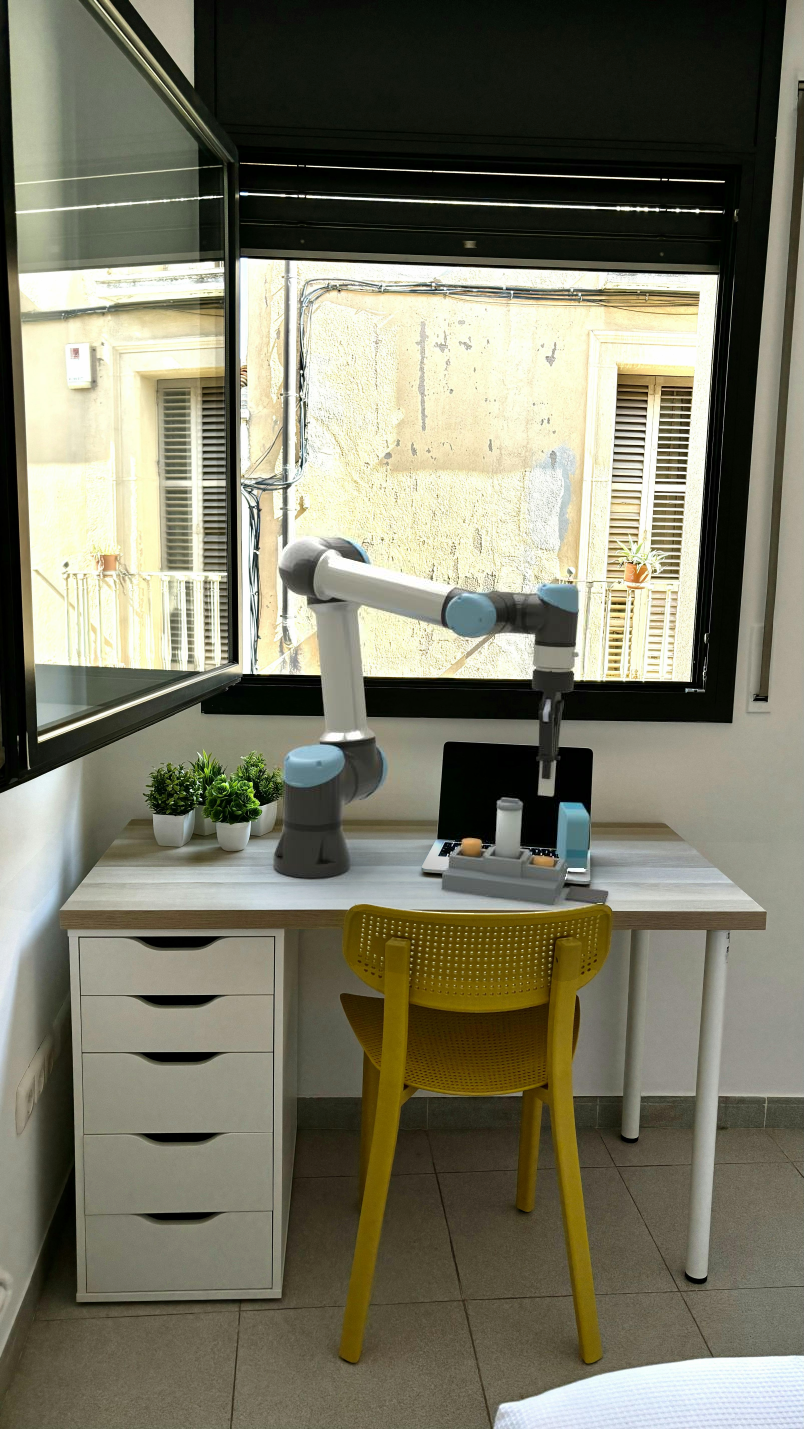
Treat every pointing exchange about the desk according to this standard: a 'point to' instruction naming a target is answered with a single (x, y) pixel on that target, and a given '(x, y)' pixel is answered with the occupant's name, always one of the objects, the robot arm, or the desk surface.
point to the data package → (573, 834)
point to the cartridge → (508, 828)
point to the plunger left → (471, 847)
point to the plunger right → (543, 861)
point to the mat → (586, 895)
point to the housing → (504, 876)
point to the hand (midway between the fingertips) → (545, 794)
